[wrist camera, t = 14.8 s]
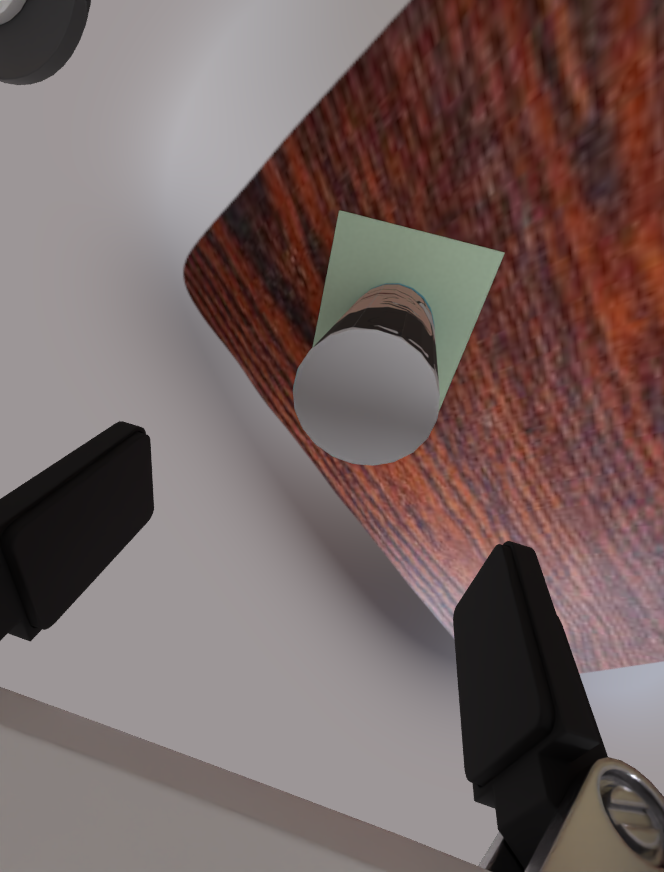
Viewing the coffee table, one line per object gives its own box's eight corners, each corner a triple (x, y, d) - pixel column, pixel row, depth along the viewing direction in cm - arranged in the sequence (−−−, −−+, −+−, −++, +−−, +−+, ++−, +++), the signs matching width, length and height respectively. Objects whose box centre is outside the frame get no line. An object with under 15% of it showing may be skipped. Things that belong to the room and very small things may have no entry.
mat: (306, 383, 34) (304, 385, 34) (340, 210, 27) (338, 210, 27) (433, 421, 34) (433, 424, 33) (503, 252, 26) (504, 252, 26)
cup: (444, 290, 28) (459, 344, 15) (422, 375, 31) (419, 478, 18) (355, 276, 29) (298, 315, 16) (343, 360, 32) (288, 449, 19)
